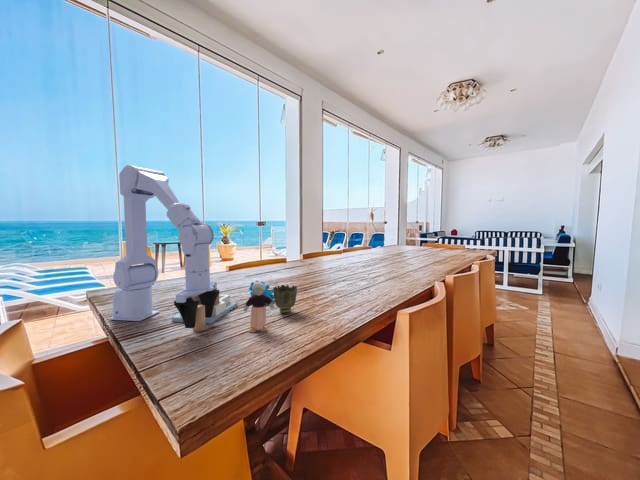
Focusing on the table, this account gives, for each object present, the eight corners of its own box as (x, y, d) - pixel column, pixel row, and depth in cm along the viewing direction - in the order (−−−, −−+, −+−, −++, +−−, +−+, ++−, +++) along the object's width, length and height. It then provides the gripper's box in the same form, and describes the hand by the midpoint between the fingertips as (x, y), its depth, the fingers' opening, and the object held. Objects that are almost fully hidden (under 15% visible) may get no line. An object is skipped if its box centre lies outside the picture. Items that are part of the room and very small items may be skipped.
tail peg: (190, 331, 67) (189, 308, 66) (197, 326, 70) (196, 304, 69) (201, 331, 66) (200, 308, 66) (207, 327, 69) (207, 305, 69)
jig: (171, 321, 73) (171, 308, 73) (204, 304, 89) (204, 294, 89) (211, 323, 72) (210, 310, 72) (237, 306, 88) (237, 295, 87)
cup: (268, 314, 79) (268, 288, 78) (281, 307, 85) (280, 283, 85) (290, 318, 76) (289, 291, 75) (301, 310, 83) (301, 285, 82)
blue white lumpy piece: (258, 304, 84) (246, 279, 89) (248, 314, 86) (237, 290, 91) (282, 301, 93) (270, 279, 98) (273, 310, 95) (262, 288, 100)
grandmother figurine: (246, 335, 64) (245, 284, 63) (243, 330, 67) (242, 281, 66) (276, 329, 67) (275, 281, 67) (271, 324, 71) (271, 278, 70)
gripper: (194, 276, 59) (196, 334, 60) (226, 266, 74) (227, 313, 74) (166, 275, 60) (168, 332, 61) (203, 266, 75) (204, 312, 75)
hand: (199, 322), depth 68 cm, fingers open, 7 cm apart
